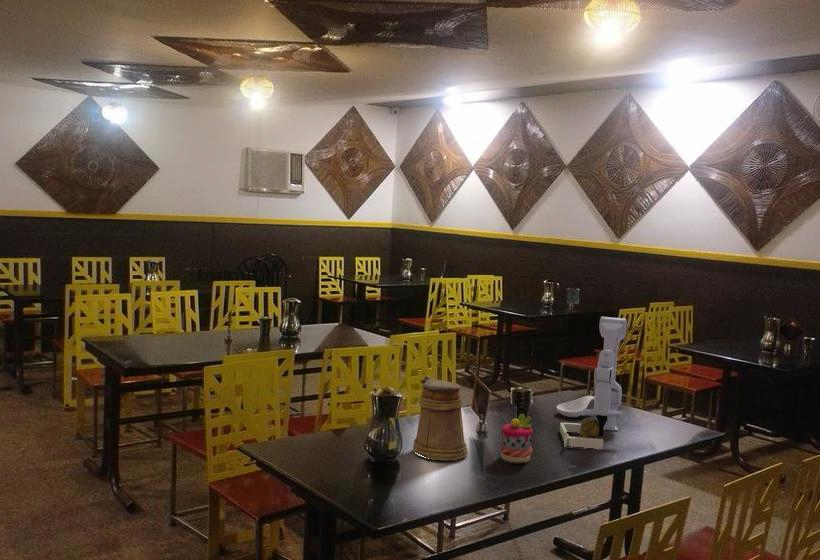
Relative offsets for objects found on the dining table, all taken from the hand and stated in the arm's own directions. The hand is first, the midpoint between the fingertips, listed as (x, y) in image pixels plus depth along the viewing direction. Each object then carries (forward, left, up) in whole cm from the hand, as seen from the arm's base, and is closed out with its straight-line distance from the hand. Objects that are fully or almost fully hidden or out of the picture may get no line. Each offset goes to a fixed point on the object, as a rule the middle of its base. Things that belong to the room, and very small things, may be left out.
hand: (600, 435), depth 277 cm
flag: (+12, -14, -2) cm, 18 cm away
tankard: (+25, -59, -3) cm, 64 cm away
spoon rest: (-38, -2, -3) cm, 38 cm away
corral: (0, -6, -2) cm, 7 cm away
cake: (+27, -33, -3) cm, 42 cm away
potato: (+2, -4, -2) cm, 4 cm away
